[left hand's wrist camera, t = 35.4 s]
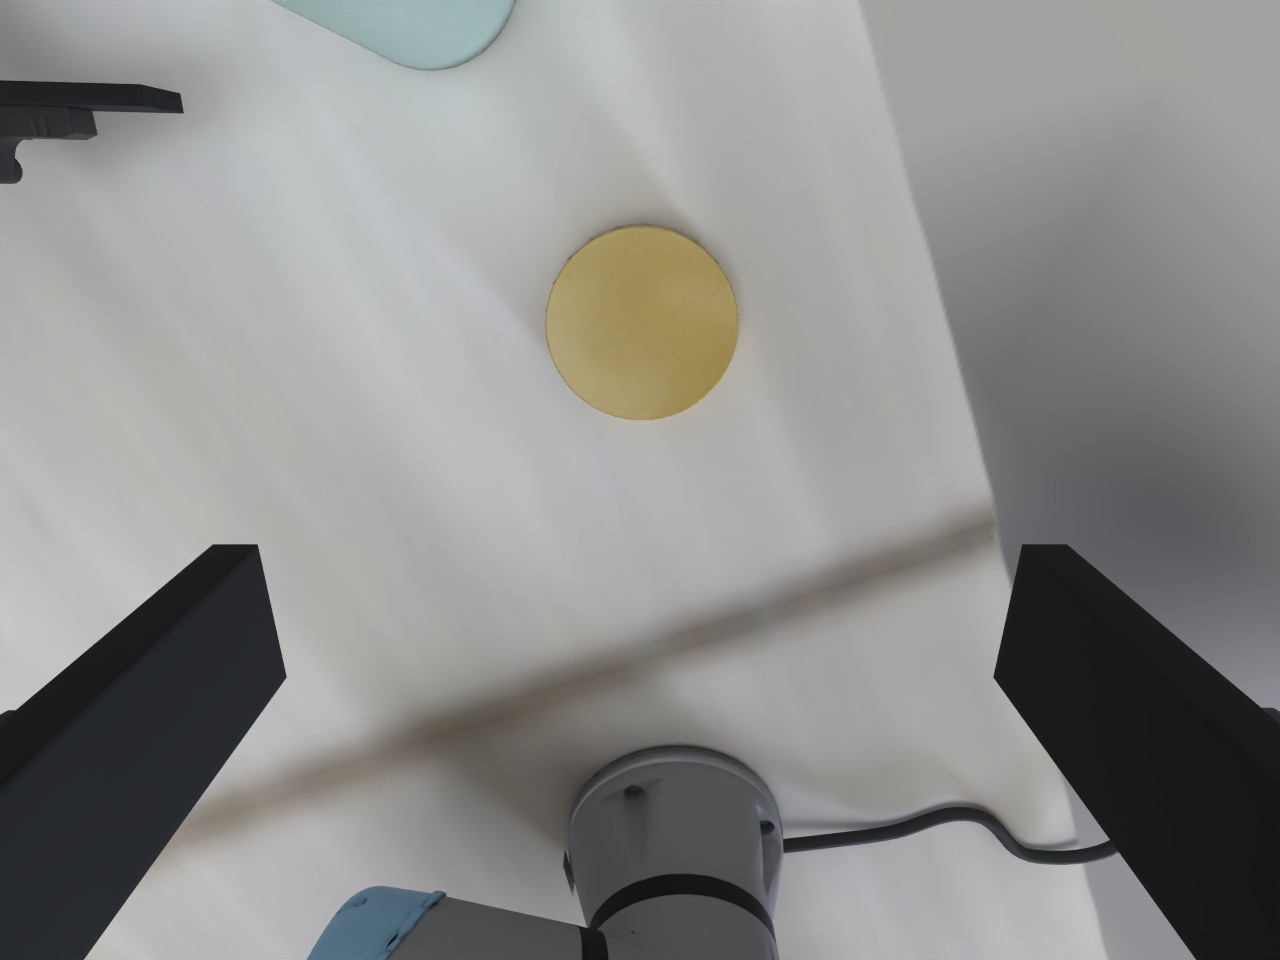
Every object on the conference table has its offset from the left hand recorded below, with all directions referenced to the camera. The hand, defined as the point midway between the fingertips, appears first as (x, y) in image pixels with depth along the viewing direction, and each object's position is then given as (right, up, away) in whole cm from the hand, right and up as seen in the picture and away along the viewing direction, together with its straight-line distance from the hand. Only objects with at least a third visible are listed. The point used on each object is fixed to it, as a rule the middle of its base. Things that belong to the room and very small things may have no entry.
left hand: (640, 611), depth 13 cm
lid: (0, +10, +25) cm, 27 cm away
